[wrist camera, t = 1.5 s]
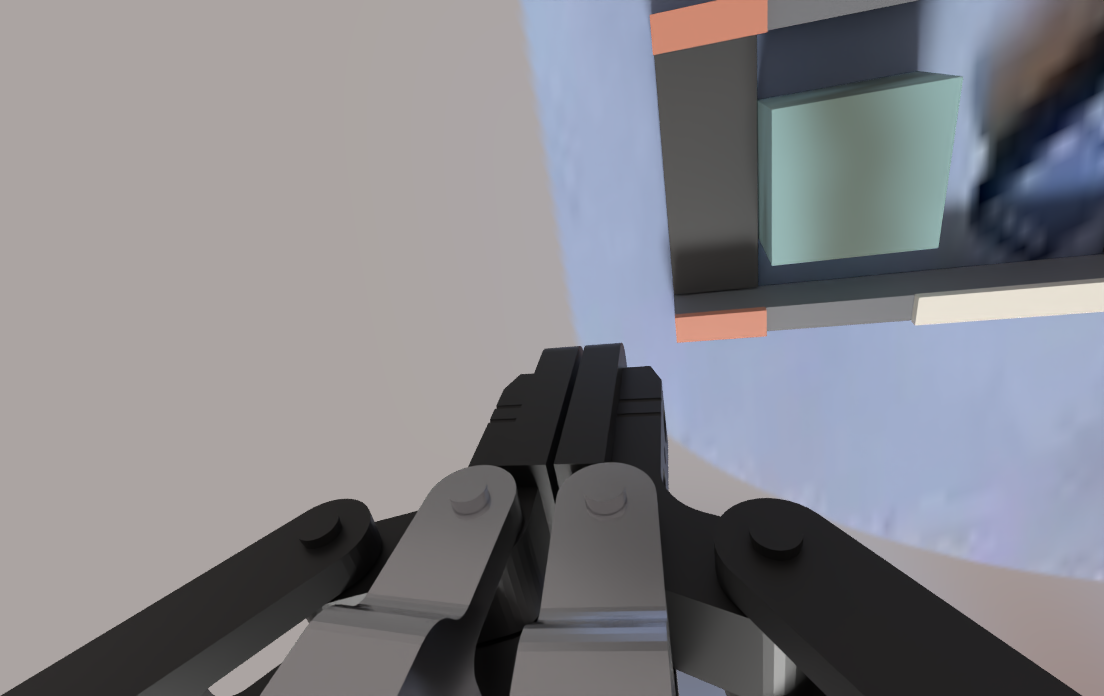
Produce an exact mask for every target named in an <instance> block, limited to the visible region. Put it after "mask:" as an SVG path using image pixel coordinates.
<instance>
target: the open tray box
mask: <svg viewBox="0 0 1104 696" xmlns="http://www.w3.org/2000/svg"><path fill="white" fill-rule="evenodd" d="M912 1H917V0H716V1H711V2H707V3H702V4H697V5H693V6H688V7H684V8H679V9H675V10H670V11H665V12H661V13H656V14H652V15H650V24H651V36H652V48H653V55H654V58H655V70H656V82H657V94H658V106H659V118H660V130H661V143H662V155H663V167H664V179H665V191H666V203H667V215H668V227H669V239H670V251H671V264H672V276H673V288H674V304H675V324H676V336H677V343H680V342H693V341H707V340H721V339H735V338H748V337H762V336H767V331H775V330H788V329H801V328H815V327H828V326H841V325H855V324H868V323H882V322H895V321H908V320H912V323H913V324H914V325H927V324H941V323H955V322H968V321H982V320H996V319H1010V318H1023V317H1037V316H1051V315H1065V314H1079V313H1092V312H1104V254H1097V255H1086V256H1075V257H1065V258H1054V259H1043V260H1033V261H1022V262H1011V263H1001V264H990V265H979V266H969V267H958V268H948V269H937V270H926V271H916V272H905V273H894V274H884V275H873V276H862V277H852V278H841V279H830V280H820V281H809V282H799V283H788V284H777V285H767V286H758V181H757V35H756V34H761V33H766V32H767V31H768V30H773V29H778V28H783V27H788V26H793V25H798V24H803V23H808V22H812V21H817V20H822V19H827V18H832V17H837V16H842V15H847V14H852V13H857V12H862V11H867V10H872V9H877V8H882V7H887V6H892V5H897V4H902V3H907V2H912ZM751 35H753V36H751ZM746 36H748V37H746ZM741 37H743V38H741ZM736 38H738V39H736ZM731 39H733V40H731ZM727 40H728V41H727ZM722 41H723V42H722ZM717 42H718V43H717ZM712 43H713V44H712ZM707 44H708V45H707ZM702 45H703V46H702ZM697 46H698V47H697ZM692 47H693V48H692ZM687 48H688V49H687ZM682 49H683V50H682ZM677 50H678V51H677ZM672 51H673V52H672ZM667 52H668V53H667ZM662 53H663V54H662ZM657 54H658V55H657ZM1103 252H1104V250H1103Z"/></svg>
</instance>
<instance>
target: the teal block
mask: <svg viewBox="0 0 1104 696" xmlns="http://www.w3.org/2000/svg"><path fill="white" fill-rule="evenodd" d="M962 82H963V76H955V75H946V74H938V73H929V72H921V71H916V72H910V73H904V74H899V75H893V76H888V77H882V78H877V79H871V80H865V81H860V82H854V83H849V84H843V85H838V86H832V87H826V88H821V89H815V90H810V91H804V92H799V93H793V94H787V95H782V96H776V97H771V98H765V99H760V100H757V178H758V238H759V240H760V242H761V244H762V246H763V248H764V250H765V252H766V255H767V257H768V259H769V261H770V263H771V265H772V266H776V265H785V264H794V263H804V262H813V261H822V260H832V259H841V258H850V257H859V256H869V255H878V254H887V253H897V252H906V251H915V250H925V249H934V248H938V246H939V239H940V233H941V226H942V219H943V212H944V205H945V198H946V191H947V185H948V178H949V171H950V164H951V157H952V150H953V143H954V137H955V130H956V123H957V116H958V109H959V102H960V95H961V89H962Z"/></svg>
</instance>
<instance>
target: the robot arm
mask: <svg viewBox="0 0 1104 696" xmlns="http://www.w3.org/2000/svg"><path fill="white" fill-rule="evenodd" d="M305 618H306V619H307V620H308V622H309V625H308V626H307V627H306V628H305V630H304V631H303V633H302V634H301V636H300V637H299V639H298V640H297V642H296V643H295V645H294V646H293V648H292V649H291V650H290V652H289V654H288V655H287V656H286V658H285V659H284V661H283V662H282V663H281V664H280V665H279V666H277V667H276V668H274V669H273V670H271V671H270V672H269V673H267V674H266V675H265V676H264V677H262V678H261V679H259V680H258V681H256V682H255V683H254V684H253V685H251V686H250V687H248V688H247V689H246V690H244V691H242V692H241V693H239V694H236V695H234V696H679V691H678V681H677V670H679V671H682V672H684V673H686V674H688V675H691V676H693V677H696V678H698V679H700V680H703V681H705V682H708V683H710V684H712V685H715V686H717V687H719V688H722V689H724V690H725V693H726V695H727V696H1082V695H1080V694H1079V693H1077V692H1076V691H1074V690H1073V689H1072V688H1070V687H1068V686H1067V685H1065V684H1064V683H1063V682H1061V681H1060V680H1058V679H1057V678H1056V677H1054V676H1053V675H1051V674H1050V673H1048V672H1047V671H1045V670H1044V669H1042V668H1041V667H1039V666H1038V665H1036V664H1035V663H1034V662H1032V661H1031V660H1029V659H1028V658H1026V657H1025V656H1024V655H1022V654H1021V653H1019V652H1018V651H1016V650H1015V649H1013V648H1012V647H1010V646H1009V645H1008V644H1006V643H1005V642H1003V641H1002V640H1000V639H999V638H997V637H996V636H994V635H993V634H991V633H990V632H988V631H987V630H986V629H984V628H983V627H981V626H980V625H978V624H977V623H976V622H974V621H973V620H971V619H970V618H968V617H967V616H965V615H964V614H962V613H961V612H960V611H958V610H957V609H955V608H954V607H952V606H951V605H950V604H948V603H946V602H945V601H944V600H942V599H941V598H939V597H938V596H936V595H935V594H933V593H932V592H931V591H929V590H927V589H926V588H925V587H923V586H922V585H920V584H919V583H917V582H916V581H914V580H913V579H912V578H910V577H909V576H907V575H906V574H904V573H903V572H902V571H900V570H898V569H897V568H896V567H894V566H893V565H891V564H890V563H889V562H887V561H886V560H884V559H883V558H881V557H880V556H878V555H877V554H875V553H874V552H873V551H871V550H870V549H868V548H867V547H865V546H864V545H862V544H861V543H859V542H858V541H857V540H855V539H854V538H852V537H851V536H849V535H848V534H846V533H845V532H843V531H842V530H841V529H839V528H838V527H836V526H835V525H833V524H832V523H830V522H829V521H828V520H826V519H825V518H823V517H822V516H820V515H819V514H817V513H816V512H814V511H812V510H811V509H809V508H807V507H804V506H802V505H800V504H797V503H794V502H791V501H787V500H781V499H773V498H761V499H760V498H759V499H753V500H747V501H744V502H741V503H739V504H737V505H735V506H733V507H731V508H730V509H728V510H727V511H726V512H725V513H724V514H723V515H722V516H721V517H720V516H716V515H712V514H709V513H705V512H701V511H698V510H695V509H693V508H690V507H688V506H686V505H684V504H683V503H681V502H680V501H678V500H677V499H676V498H675V497H673V496H672V495H671V494H670V492H669V491H668V439H667V430H666V420H665V410H664V400H663V390H662V381H661V379H660V378H659V376H658V375H657V374H656V373H655V371H654V370H653V369H652V368H651V366H644V367H628V368H627V364H626V356H625V350H624V346H623V343H614V344H600V345H587V346H585V347H584V351H583V349H582V347H581V346H575V347H562V348H548V349H544V350H543V352H542V355H541V357H540V360H539V362H538V365H537V367H536V370H535V373H534V374H521V375H519V376H518V377H517V378H516V379H515V380H514V381H513V382H512V383H510V384H509V385H508V386H507V387H506V388H505V389H504V391H503V393H502V395H501V397H500V399H499V401H498V404H497V409H495V410H494V412H493V414H492V416H491V419H490V423H488V425H487V428H486V429H485V432H484V434H483V436H482V438H481V440H480V442H479V445H478V447H477V449H476V451H475V453H474V455H473V458H472V460H471V462H470V464H469V466H468V467H467V468H464V469H461V470H458V471H456V472H454V473H452V474H450V475H448V476H447V477H445V478H444V479H442V480H441V481H440V482H439V483H437V484H436V486H434V487H433V488H432V490H431V491H430V493H429V494H428V495H427V497H426V499H425V500H424V502H423V504H422V505H421V507H420V508H419V510H418V511H415V512H412V513H408V514H404V515H400V516H396V517H392V518H389V519H384V520H381V521H377V522H374V520H373V518H372V515H371V513H370V511H369V509H368V507H367V506H366V505H365V504H364V503H363V502H360V501H358V500H354V499H338V500H333V501H329V502H326V503H323V504H321V505H318V506H316V507H314V508H312V509H310V510H308V511H307V512H305V513H303V514H302V515H300V516H298V517H297V518H295V519H293V520H292V521H290V522H288V523H287V524H285V525H283V526H282V527H280V528H278V529H277V530H275V531H273V532H272V533H270V534H268V535H267V536H265V537H263V538H262V539H260V540H258V541H257V542H255V543H253V544H252V545H250V546H248V547H247V548H245V549H244V550H242V551H240V552H238V553H237V554H235V555H234V556H232V557H230V558H229V559H227V560H225V561H224V562H222V563H220V564H219V565H217V566H215V567H214V568H212V569H210V570H209V571H207V572H205V573H204V574H202V575H200V576H199V577H197V578H195V579H194V580H192V581H191V582H189V583H187V584H185V585H184V586H182V587H181V588H179V589H177V590H175V591H174V592H172V593H170V594H169V595H167V596H165V597H164V598H162V599H161V600H159V601H157V602H155V603H154V604H152V605H151V606H149V607H147V608H146V609H144V610H142V611H141V612H139V613H137V614H136V615H134V616H132V617H131V618H129V619H127V620H126V621H124V622H122V623H121V624H119V625H117V626H116V627H114V628H112V629H111V630H109V631H107V632H106V633H104V634H102V635H101V636H99V637H97V638H96V639H94V640H92V641H91V642H89V643H87V644H86V645H84V646H83V647H81V648H79V649H78V650H76V651H74V652H72V653H71V654H69V655H68V656H66V657H64V658H63V659H61V660H59V661H58V662H56V663H54V664H53V665H51V666H50V667H48V668H46V669H44V670H43V671H41V672H39V673H38V674H36V675H34V676H33V677H31V678H29V679H28V680H26V681H24V682H23V683H21V684H19V685H18V686H16V687H14V688H13V689H11V690H10V691H8V692H6V693H5V694H3V695H1V696H215V695H213V694H212V693H211V692H210V691H209V690H208V688H209V687H210V686H211V685H213V684H214V683H215V682H217V681H218V680H219V679H221V678H222V677H224V676H225V675H227V674H228V673H229V672H231V671H232V670H233V669H235V668H237V667H238V666H239V665H241V664H242V663H243V662H245V661H246V660H248V659H249V658H250V657H252V656H253V655H255V654H256V653H257V652H259V651H260V650H262V649H263V648H265V647H266V646H268V645H269V644H270V643H272V642H273V641H274V640H276V639H277V638H279V637H280V636H281V635H283V634H284V633H286V632H287V631H289V630H290V629H291V628H293V627H294V626H296V625H297V624H299V623H300V622H301V621H303V620H304V619H305Z"/></svg>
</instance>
